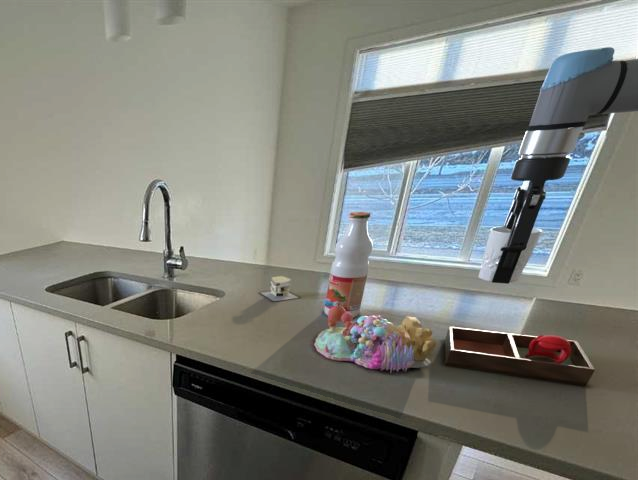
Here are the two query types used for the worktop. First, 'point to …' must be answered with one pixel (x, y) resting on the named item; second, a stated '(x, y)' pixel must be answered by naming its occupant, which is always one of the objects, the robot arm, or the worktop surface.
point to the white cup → (493, 253)
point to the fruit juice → (350, 266)
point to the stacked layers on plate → (279, 289)
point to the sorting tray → (513, 356)
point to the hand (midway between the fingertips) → (498, 277)
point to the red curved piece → (550, 347)
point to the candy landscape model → (375, 341)
